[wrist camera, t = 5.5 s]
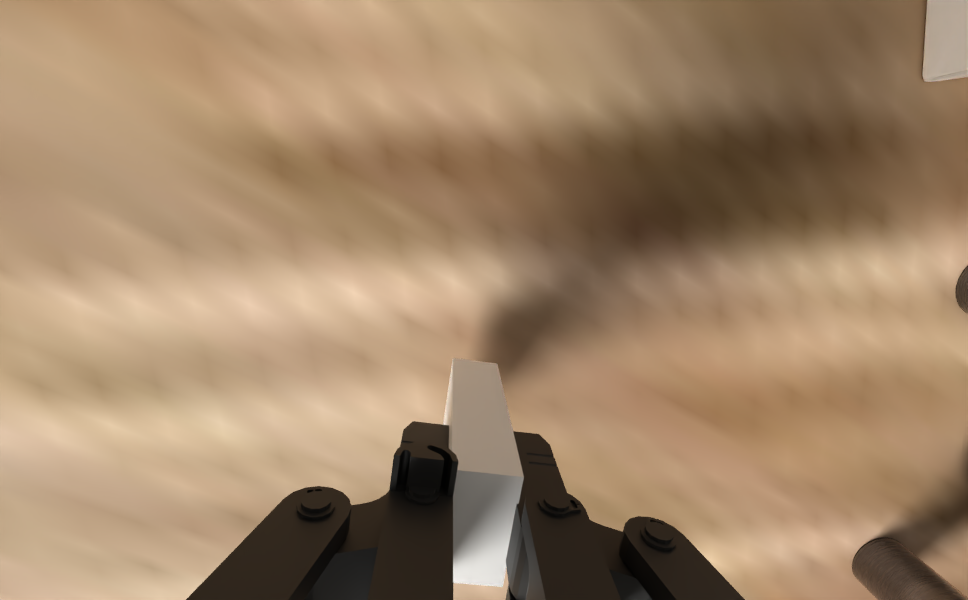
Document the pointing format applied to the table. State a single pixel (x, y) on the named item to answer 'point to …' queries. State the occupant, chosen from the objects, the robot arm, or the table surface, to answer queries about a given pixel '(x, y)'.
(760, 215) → the table surface
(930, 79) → the ink cartridge box
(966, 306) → the post
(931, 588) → the post
